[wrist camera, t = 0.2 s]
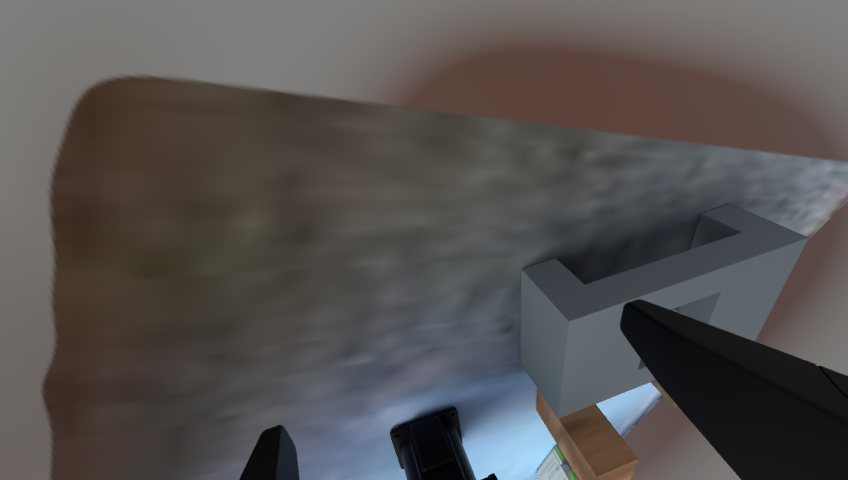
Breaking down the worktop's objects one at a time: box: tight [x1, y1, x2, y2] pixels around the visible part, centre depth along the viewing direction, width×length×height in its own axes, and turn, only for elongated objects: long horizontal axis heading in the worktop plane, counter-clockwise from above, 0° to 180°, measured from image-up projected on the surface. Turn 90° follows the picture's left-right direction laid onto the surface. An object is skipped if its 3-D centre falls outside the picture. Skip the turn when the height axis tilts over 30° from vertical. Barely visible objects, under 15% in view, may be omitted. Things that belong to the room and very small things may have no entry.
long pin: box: [536, 388, 638, 480], centre depth 35 cm, size 4×4×9 cm
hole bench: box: [520, 204, 809, 419], centre depth 31 cm, size 11×20×6 cm, turn 98°
